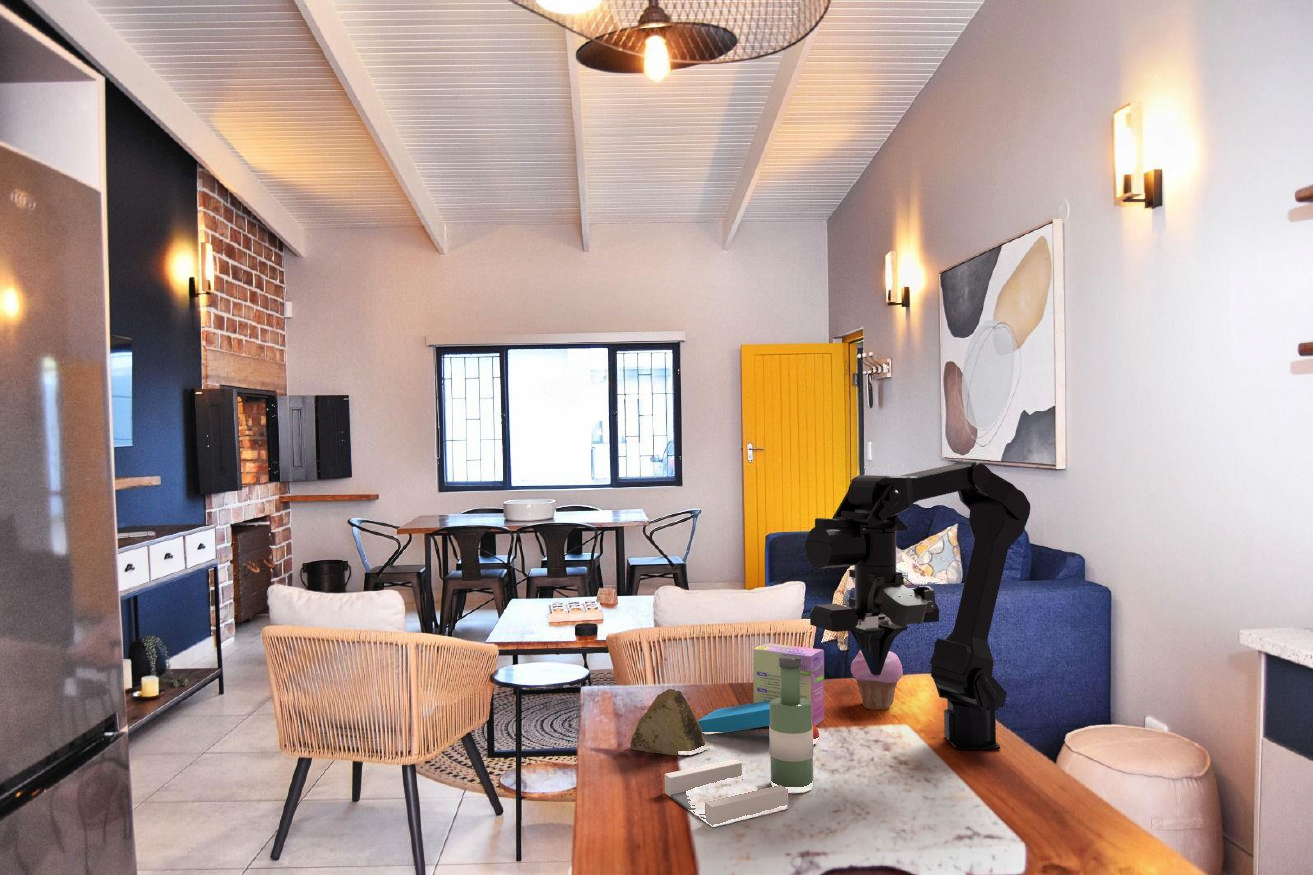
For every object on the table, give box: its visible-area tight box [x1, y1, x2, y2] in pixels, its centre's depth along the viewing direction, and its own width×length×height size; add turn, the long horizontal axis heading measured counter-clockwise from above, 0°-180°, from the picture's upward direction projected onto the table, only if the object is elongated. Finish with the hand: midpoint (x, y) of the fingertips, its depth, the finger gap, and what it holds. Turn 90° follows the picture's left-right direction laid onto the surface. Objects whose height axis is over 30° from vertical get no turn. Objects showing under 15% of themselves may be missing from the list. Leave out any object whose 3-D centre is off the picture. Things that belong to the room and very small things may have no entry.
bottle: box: [768, 655, 814, 787], centre depth 118 cm, size 6×6×17 cm
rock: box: [630, 688, 707, 756], centre depth 133 cm, size 11×9×10 cm
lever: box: [697, 700, 820, 739], centre depth 138 cm, size 7×7×18 cm
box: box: [752, 642, 825, 727], centre depth 146 cm, size 10×6×12 cm, turn 58°
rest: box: [664, 758, 789, 826], centre depth 113 cm, size 11×12×2 cm
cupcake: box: [850, 649, 904, 711], centre depth 152 cm, size 9×9×10 cm
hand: (875, 674), depth 125 cm, fingers closed
